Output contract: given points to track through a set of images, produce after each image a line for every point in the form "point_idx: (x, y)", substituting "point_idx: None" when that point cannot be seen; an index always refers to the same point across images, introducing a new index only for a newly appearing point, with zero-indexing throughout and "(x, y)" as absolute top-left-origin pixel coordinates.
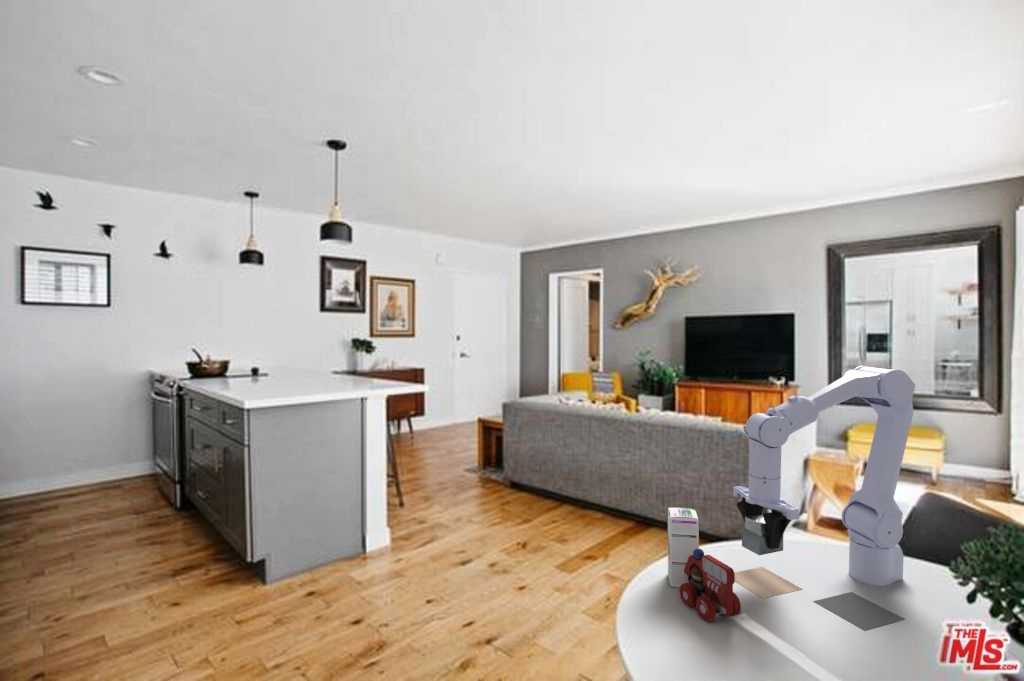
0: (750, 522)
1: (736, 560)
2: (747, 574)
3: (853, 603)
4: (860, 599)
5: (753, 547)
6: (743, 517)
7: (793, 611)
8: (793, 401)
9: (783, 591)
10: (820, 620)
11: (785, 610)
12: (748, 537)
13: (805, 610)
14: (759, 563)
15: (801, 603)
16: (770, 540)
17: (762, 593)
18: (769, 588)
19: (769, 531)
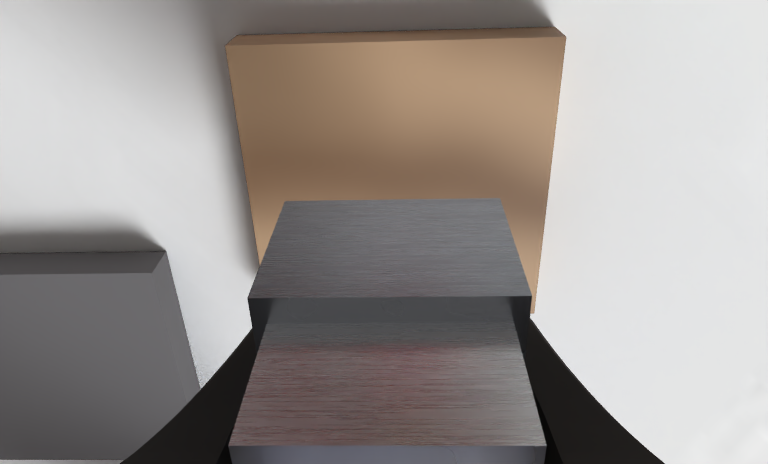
0: (432, 407)
1: (706, 278)
2: (500, 179)
3: (112, 400)
4: (139, 442)
5: (350, 220)
6: (630, 448)
7: (163, 155)
8: None
9: (270, 218)
10: (72, 208)
11: (178, 125)
12: (421, 260)
13: (163, 214)
14: (614, 352)
15: (224, 245)
16: (222, 365)
17: (278, 91)
18: (318, 173)
19: (187, 430)
